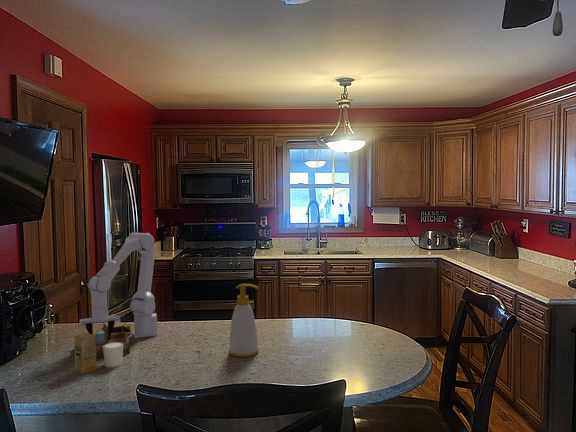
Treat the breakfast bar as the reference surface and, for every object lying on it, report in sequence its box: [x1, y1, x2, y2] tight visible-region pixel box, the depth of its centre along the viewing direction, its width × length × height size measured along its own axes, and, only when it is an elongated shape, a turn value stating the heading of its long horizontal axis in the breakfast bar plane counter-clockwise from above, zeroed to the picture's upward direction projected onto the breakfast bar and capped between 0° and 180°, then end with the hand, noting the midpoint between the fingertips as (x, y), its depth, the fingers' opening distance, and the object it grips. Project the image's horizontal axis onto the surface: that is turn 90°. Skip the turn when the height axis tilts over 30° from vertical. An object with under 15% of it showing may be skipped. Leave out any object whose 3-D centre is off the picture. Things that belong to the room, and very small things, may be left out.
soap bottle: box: [228, 283, 259, 358], centre depth 172 cm, size 11×12×26 cm
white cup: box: [103, 342, 124, 368], centre depth 162 cm, size 7×7×7 cm
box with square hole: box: [96, 332, 131, 359], centre depth 177 cm, size 18×16×4 cm
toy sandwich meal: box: [101, 320, 133, 336], centre depth 198 cm, size 12×14×5 cm
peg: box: [94, 331, 106, 346], centre depth 179 cm, size 4×4×6 cm
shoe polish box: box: [73, 332, 97, 375], centre depth 157 cm, size 5×5×12 cm
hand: (100, 341), depth 179 cm, fingers open, 5 cm apart
